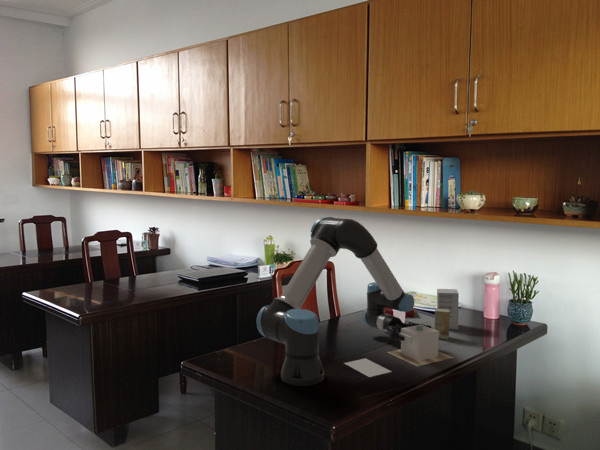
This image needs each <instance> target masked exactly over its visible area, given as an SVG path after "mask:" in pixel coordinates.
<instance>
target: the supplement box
mask: <svg viewBox="0 0 600 450" xmlns="http://www.w3.org/2000/svg"><path fill="white" fill-rule="evenodd" d="M459 295H460V294H459V291H458V289H457V288H449V289H448V288H436V309H448V310H450V318H449V330H459V297H460V296H459Z"/></svg>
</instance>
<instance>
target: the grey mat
mask: <svg viewBox="0 0 600 450" xmlns="http://www.w3.org/2000/svg"><path fill="white" fill-rule="evenodd" d="M343 364H344V365H346V366H348V367H350V368H352V369H353V370H355V371H357V372H359V373H360V374H362V375H365V376H366V377H368V378H372V377H376V376H380V375H384V374H389V373H392V372H393V370H390V369H389V368H386V367H385V366H382V365H380V364H378V363H376V362H375V361H372V360H370V359H368V358H361V359H357V360H356V359H355V360H352V361H347V362H343Z"/></svg>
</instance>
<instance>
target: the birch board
mask: <svg viewBox="0 0 600 450" xmlns="http://www.w3.org/2000/svg"><path fill="white" fill-rule="evenodd" d="M386 353H387V354H390V355H391V356H393V357H396V358H398V359H401V360H403V361H405V362H407V363H409V364H411V365H413V366H415V367H421V366H424V365H429V364H433V363H436V362H441V361H445V360H446V361H447V360H449V359H454V357H453V356H450V355H448V354H445V353H443V352H441V351H439V350H438V356H437V357H433V358H428V359H424V360H420V361H417V360H415V359H413V358H410V357H408V356H406V355H404V354H401V348H400V349H396V350H391V351H386Z"/></svg>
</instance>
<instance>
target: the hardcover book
mask: <svg viewBox="0 0 600 450" xmlns="http://www.w3.org/2000/svg"><path fill="white" fill-rule="evenodd" d="M385 313H386V314H389V315H392V316H394V315H393V309H389V308H385ZM405 318H416V310H415V307H413V308H412V310H411V311H410V312H405Z"/></svg>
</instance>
